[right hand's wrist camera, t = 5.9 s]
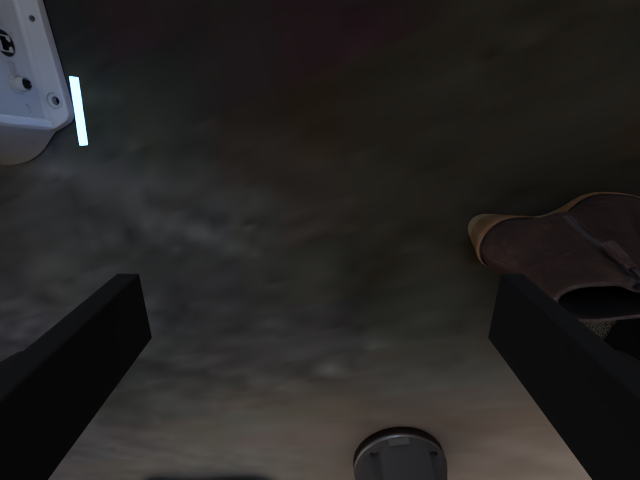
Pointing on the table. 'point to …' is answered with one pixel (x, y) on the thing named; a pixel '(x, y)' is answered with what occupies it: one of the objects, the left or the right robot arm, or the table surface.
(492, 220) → the boot
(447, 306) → the table surface
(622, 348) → the handbag
